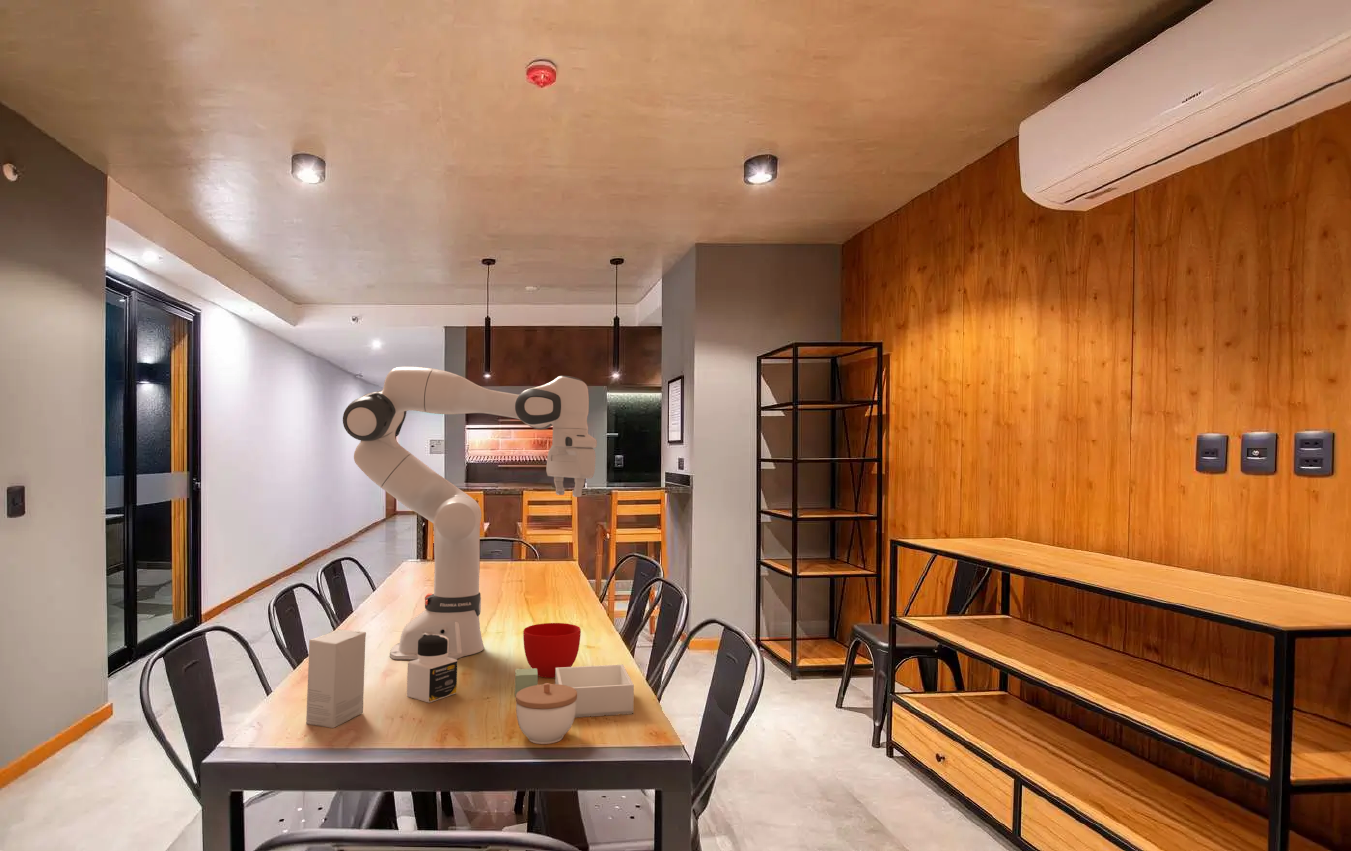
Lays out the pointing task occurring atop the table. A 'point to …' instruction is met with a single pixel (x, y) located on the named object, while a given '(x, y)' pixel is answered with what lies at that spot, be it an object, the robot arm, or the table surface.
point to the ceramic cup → (551, 646)
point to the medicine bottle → (432, 670)
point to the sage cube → (525, 678)
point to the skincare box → (335, 678)
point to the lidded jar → (546, 712)
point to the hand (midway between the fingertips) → (568, 495)
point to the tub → (599, 689)
